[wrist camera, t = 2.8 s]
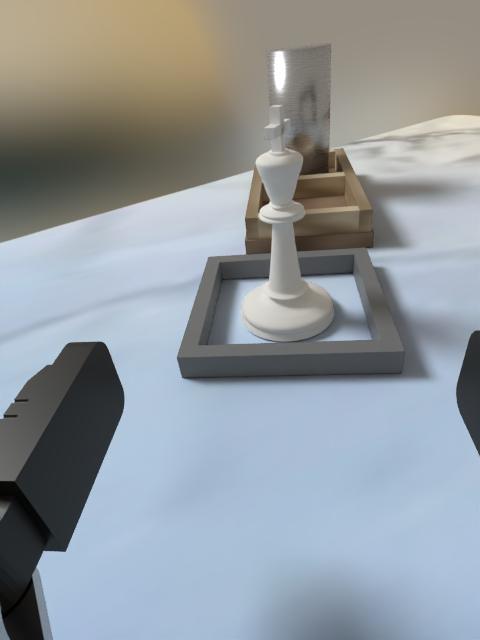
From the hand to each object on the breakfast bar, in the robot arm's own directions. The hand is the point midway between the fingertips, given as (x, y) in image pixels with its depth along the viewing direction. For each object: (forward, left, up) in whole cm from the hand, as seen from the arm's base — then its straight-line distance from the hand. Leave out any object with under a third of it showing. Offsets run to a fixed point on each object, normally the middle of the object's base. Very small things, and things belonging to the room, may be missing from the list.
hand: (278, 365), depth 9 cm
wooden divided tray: (-1, -26, -6) cm, 27 cm away
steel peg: (-1, -30, -5) cm, 31 cm away
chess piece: (0, -11, -6) cm, 13 cm away
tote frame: (0, -11, -6) cm, 13 cm away
